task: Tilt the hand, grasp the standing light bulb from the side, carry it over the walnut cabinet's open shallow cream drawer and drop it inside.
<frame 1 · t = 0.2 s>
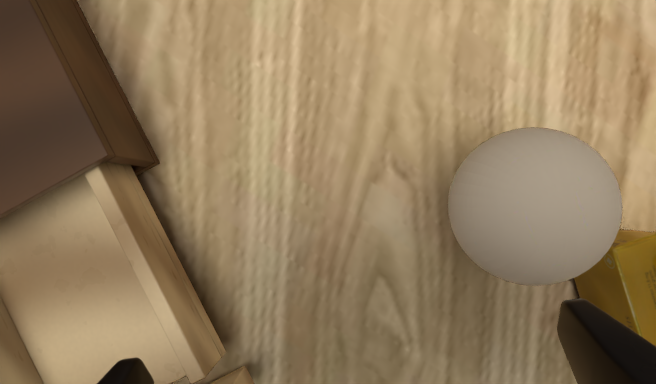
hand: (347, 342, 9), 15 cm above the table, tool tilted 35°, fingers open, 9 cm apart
light bulb: (476, 202, 24), on the table
medication box: (616, 338, 23), on the table
drawer: (97, 341, 22), point 3 cm above the table, slide at 12.0 cm
cabinet: (1, 81, 25), on the table
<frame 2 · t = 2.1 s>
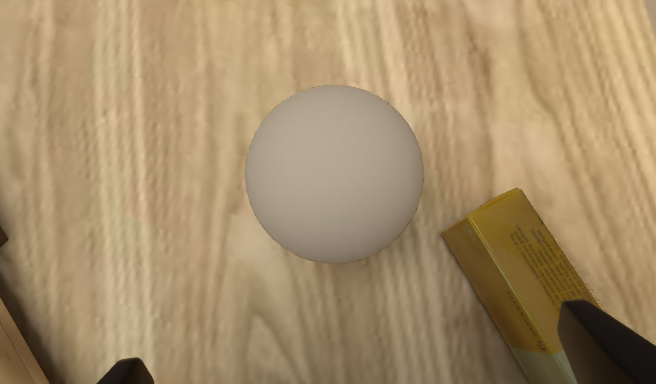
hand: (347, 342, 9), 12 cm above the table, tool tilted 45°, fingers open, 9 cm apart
light bulb: (345, 211, 22), on the table
medication box: (535, 332, 20), on the table
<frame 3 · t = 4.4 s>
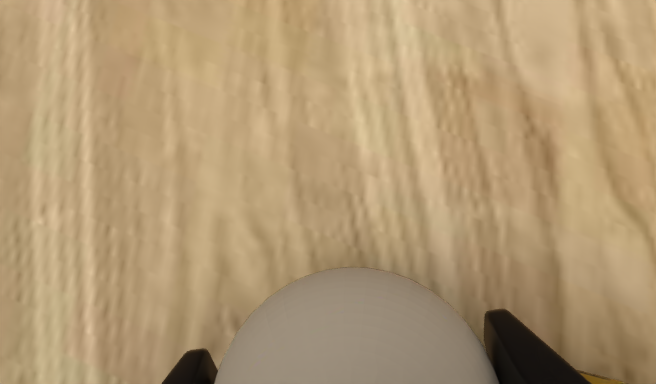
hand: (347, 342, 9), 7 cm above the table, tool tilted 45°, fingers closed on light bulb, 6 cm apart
light bulb: (361, 357, 16), on the table, touching gripper
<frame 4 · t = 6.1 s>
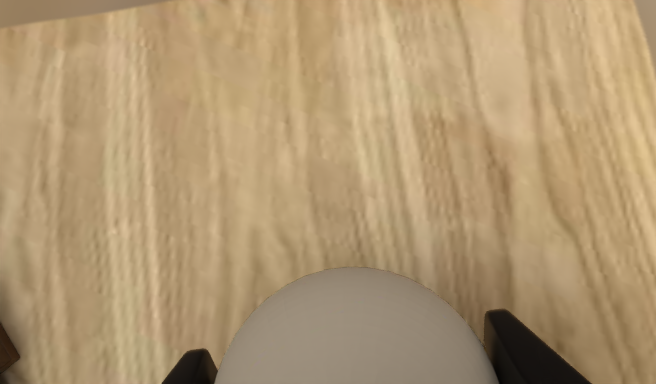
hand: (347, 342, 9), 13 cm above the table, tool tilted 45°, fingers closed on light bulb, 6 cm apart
light bulb: (361, 357, 16), point 5 cm above the table, touching gripper
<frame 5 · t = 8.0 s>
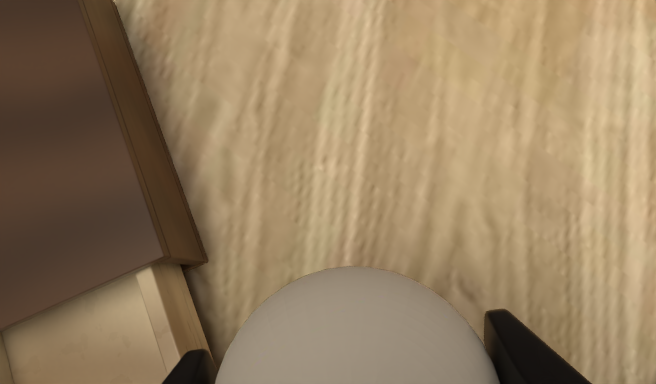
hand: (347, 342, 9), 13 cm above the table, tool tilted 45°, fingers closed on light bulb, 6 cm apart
light bulb: (362, 356, 16), point 6 cm above the table, touching gripper
cabinet: (61, 166, 25), on the table
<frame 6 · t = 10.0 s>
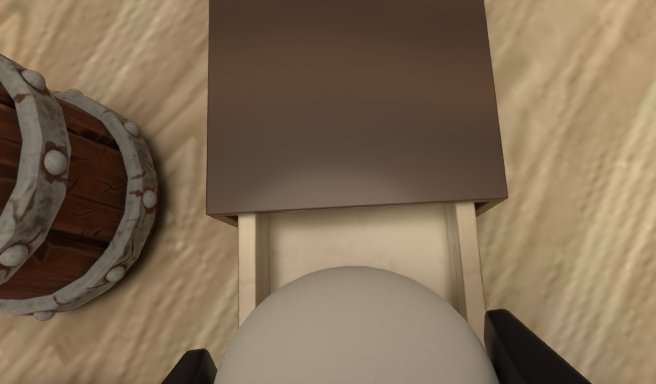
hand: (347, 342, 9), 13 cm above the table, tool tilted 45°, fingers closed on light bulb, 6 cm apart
mug: (49, 195, 25), on the table
light bulb: (361, 356, 16), point 6 cm above the table, touching gripper
drawer: (363, 382, 19), point 3 cm above the table, slide at 12.0 cm
cabinet: (348, 69, 25), on the table
when the fingers open (9 cm above the table, at t = 11.6 s): light bulb stays where it is, resting on drawer.
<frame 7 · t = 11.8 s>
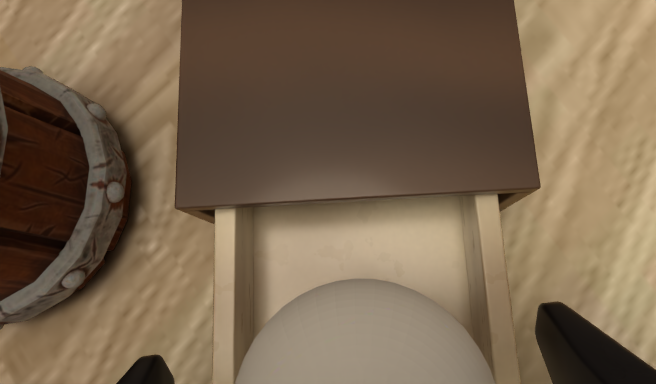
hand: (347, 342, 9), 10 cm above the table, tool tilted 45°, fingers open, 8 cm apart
mug: (6, 189, 22), on the table
light bulb: (364, 359, 17), point 2 cm above the table, touching drawer
cabinet: (347, 46, 22), on the table
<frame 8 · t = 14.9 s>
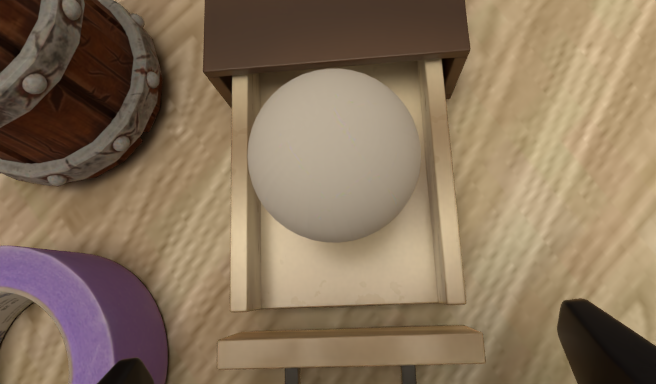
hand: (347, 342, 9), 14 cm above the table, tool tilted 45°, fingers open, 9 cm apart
mug: (60, 90, 27), on the table
tape roll: (65, 363, 24), on the table
light bulb: (345, 197, 22), point 2 cm above the table, touching drawer
drawer: (343, 225, 21), point 3 cm above the table, slide at 12.0 cm, touching light bulb
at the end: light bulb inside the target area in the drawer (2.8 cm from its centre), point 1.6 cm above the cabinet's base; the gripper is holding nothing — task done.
